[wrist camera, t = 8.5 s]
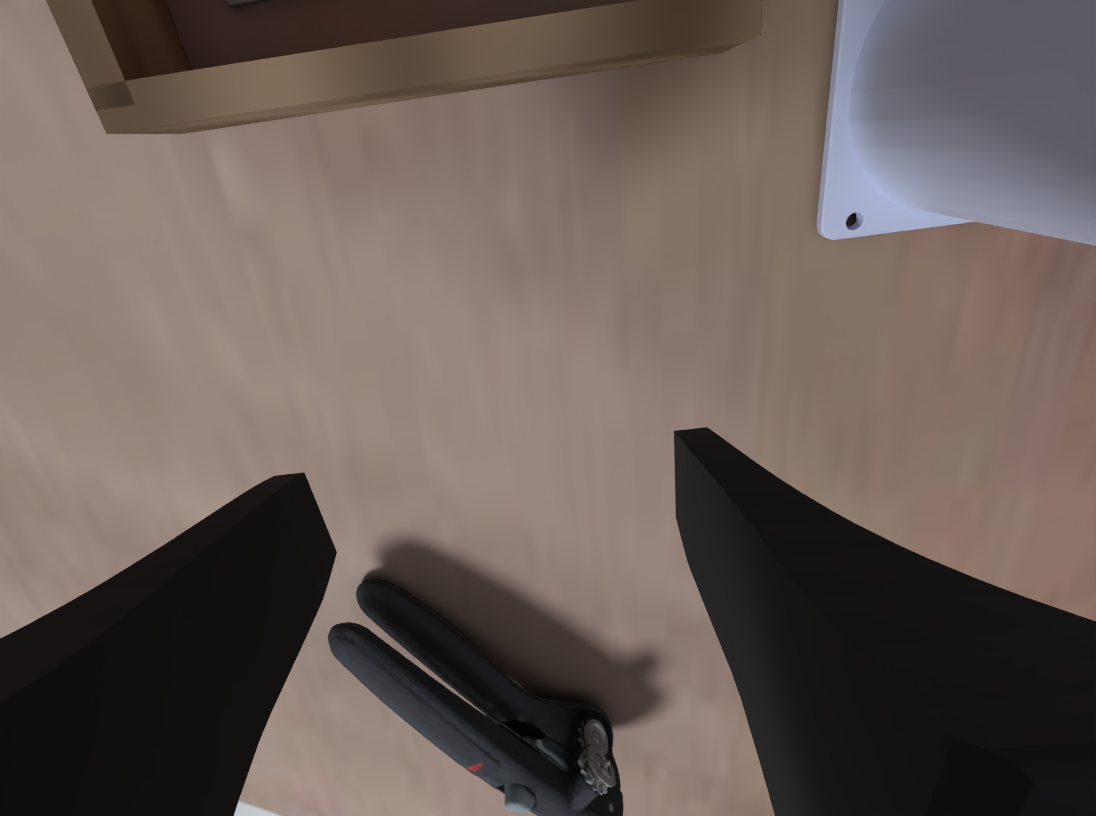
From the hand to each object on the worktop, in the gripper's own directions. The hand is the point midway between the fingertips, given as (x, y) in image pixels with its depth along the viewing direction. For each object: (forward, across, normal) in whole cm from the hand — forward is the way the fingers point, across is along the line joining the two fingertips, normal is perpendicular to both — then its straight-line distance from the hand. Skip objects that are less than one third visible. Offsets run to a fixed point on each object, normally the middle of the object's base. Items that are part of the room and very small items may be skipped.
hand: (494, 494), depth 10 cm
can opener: (+10, +4, +18) cm, 21 cm away
